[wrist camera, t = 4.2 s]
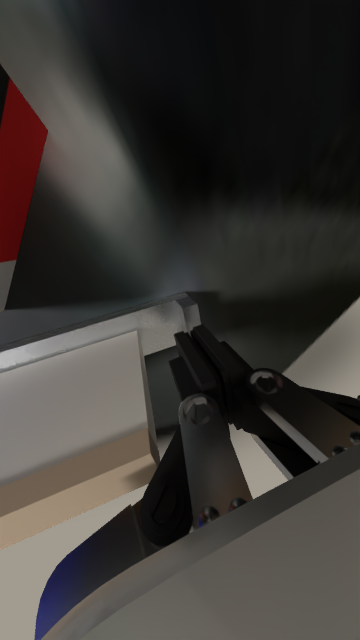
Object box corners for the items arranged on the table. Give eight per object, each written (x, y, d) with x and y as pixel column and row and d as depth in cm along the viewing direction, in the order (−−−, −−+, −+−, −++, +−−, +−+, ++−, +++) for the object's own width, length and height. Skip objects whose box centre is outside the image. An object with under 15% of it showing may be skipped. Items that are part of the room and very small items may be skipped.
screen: (136, 329, 12) (150, 453, 5) (142, 345, 13) (162, 477, 6) (-64, 391, 11) (-466, 714, 3) (-45, 407, 11) (-354, 708, 4)
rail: (183, 291, 14) (197, 303, 11) (192, 331, 15) (205, 350, 13) (-258, 422, 10) (-396, 487, 7) (-185, 456, 12) (-277, 520, 9)
